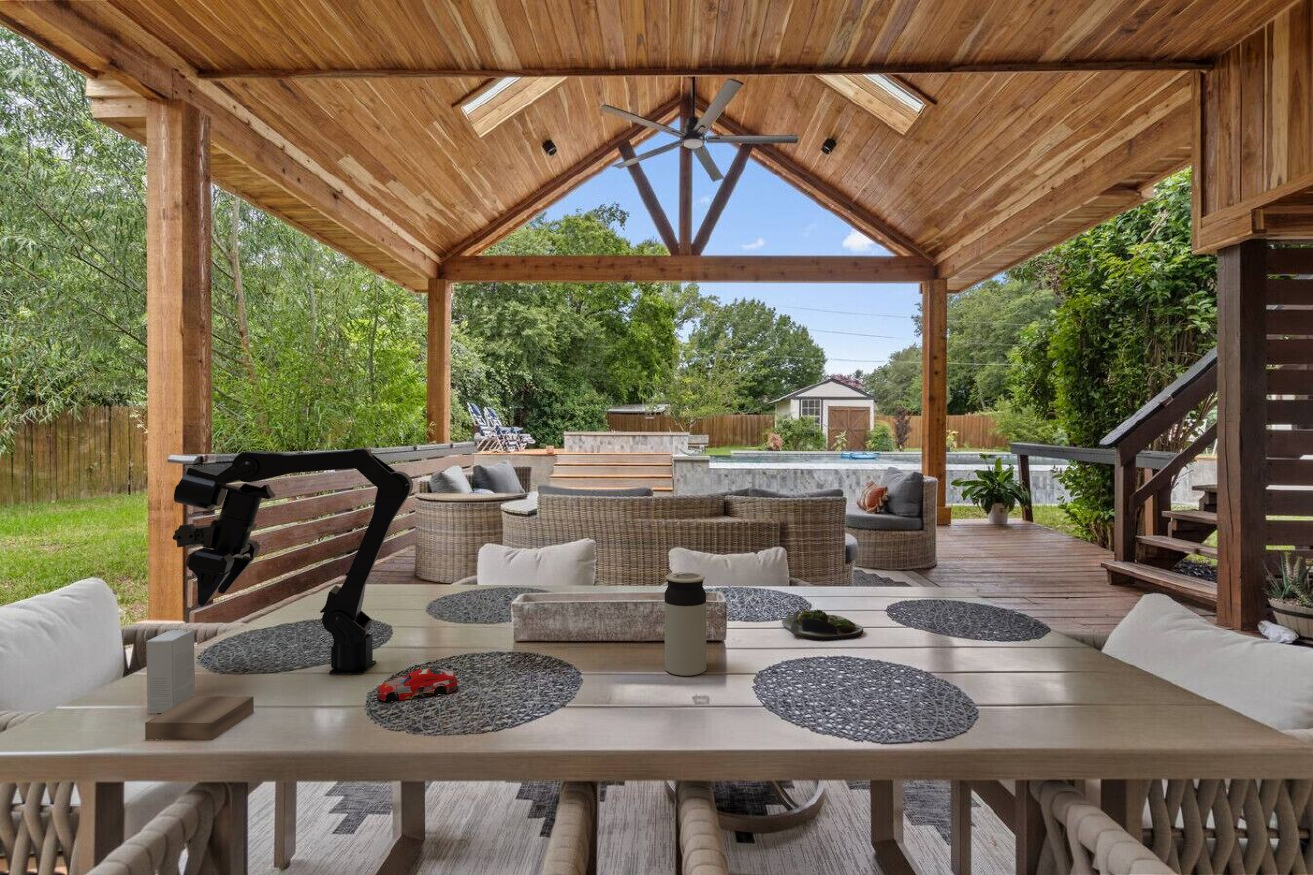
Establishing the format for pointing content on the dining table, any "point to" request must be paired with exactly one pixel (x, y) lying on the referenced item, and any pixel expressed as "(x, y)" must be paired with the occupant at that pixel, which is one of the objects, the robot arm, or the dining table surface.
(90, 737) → the dining table surface
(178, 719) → the walnut block
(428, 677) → the race car
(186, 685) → the skincare box
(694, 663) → the travel mug
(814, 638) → the salad plate
